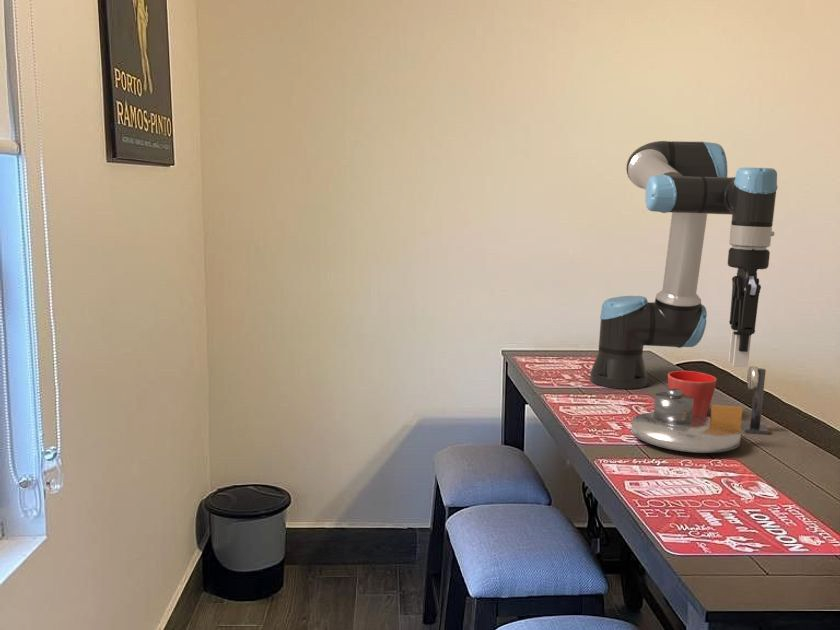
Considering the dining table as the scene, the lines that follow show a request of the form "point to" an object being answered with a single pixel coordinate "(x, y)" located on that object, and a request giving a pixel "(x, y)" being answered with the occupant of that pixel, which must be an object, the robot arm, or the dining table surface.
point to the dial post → (756, 401)
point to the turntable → (693, 431)
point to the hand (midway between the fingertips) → (738, 364)
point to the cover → (673, 407)
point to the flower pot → (694, 388)
